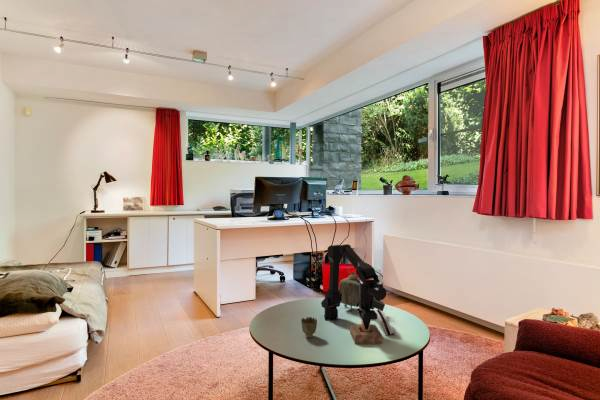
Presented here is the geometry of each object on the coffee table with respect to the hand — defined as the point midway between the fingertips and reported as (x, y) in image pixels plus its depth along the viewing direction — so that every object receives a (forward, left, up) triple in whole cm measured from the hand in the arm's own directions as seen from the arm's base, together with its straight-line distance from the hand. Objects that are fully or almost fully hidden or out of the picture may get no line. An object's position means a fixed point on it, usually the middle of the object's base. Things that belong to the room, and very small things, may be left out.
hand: (365, 327), depth 158 cm
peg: (0, 0, -2) cm, 2 cm away
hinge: (+12, +11, -5) cm, 17 cm away
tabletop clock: (+1, +37, -5) cm, 37 cm away
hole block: (0, 0, -5) cm, 5 cm away
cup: (-26, +2, -5) cm, 27 cm away
